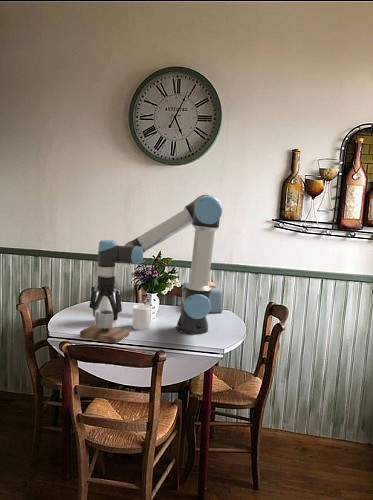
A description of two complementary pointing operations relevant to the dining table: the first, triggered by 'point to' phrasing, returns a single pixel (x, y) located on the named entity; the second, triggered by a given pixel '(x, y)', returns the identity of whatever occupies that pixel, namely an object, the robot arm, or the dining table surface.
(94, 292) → the robot arm
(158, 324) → the dining table surface
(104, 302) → the jar
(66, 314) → the dining table surface
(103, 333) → the post block
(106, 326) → the hub
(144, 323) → the cup
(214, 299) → the toaster
